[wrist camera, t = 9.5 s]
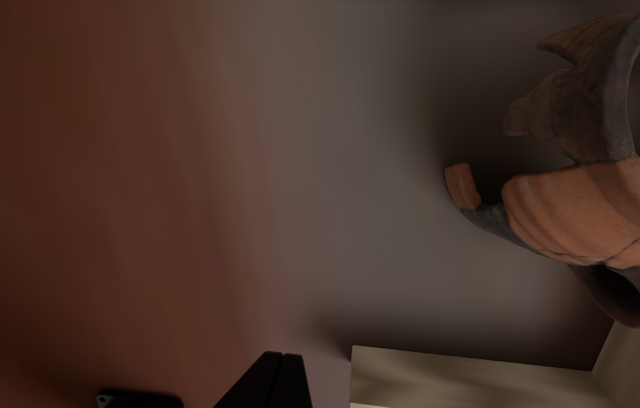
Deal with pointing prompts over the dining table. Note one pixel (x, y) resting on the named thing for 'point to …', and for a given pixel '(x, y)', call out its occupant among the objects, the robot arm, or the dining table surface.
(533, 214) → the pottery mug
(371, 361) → the birch bracket
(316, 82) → the dining table surface
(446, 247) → the dining table surface
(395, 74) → the dining table surface
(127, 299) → the dining table surface
